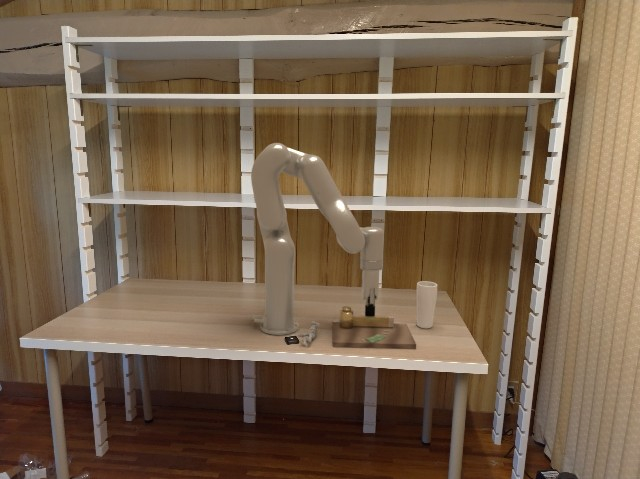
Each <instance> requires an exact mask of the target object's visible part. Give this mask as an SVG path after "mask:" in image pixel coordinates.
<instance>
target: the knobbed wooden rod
mask: <svg viewBox="0 0 640 479" xmlns="http://www.w3.org/2000/svg"><path fill="white" fill-rule="evenodd" d="M339 322H340V325H339V326H340V327H342V328H352V327H353V326H384V327H394V323H395V317H394V316H393V315H392V316H391V315H389V316H384V315H383V316H381V315H379V316H378V315H375V316H365V315H354V310H352V307H351V306H347V305H345V306H342V309H340V310H339Z"/></svg>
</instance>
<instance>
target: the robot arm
mask: <svg viewBox="0 0 640 479" xmlns="http://www.w3.org/2000/svg"><path fill="white" fill-rule="evenodd" d="M281 173H283V174H285V175H289V176H292V177H294V178H299V179H302V181H303V183H304V185H305V187H306V189H307V191H308V192H309V194H310V196H311V197H312V199H313V202H314V203H315V205H316V207H317V208H318V209H317V210H319V212H320V213H321V214H322V215H323V217H325V219H326V220H327V222H328V223H329V224H330V226H331V227H332V228H331V229H333V231H334V233H335V235H336V237H335V238H336V241H337V243H338V245H339V246H340V247H341V248H342V249H343V250H344V251H345V252H346V253H348V254H351V255H354V254H359V253H360V258H359V262H360V263H359V269H360V270H362V273H361V274H362V275H361V277H362V278H361V297H362V299H363V300H364V301H365V305H364V306H365V307H364V316H376V300H378V299H379V288H380V283H379V282H380V271H382V270H383V267H384V245H385V244H384V242H385V238H384V237H385V231H384V229H383V228H381V227H378V226H366V227H360V225H359V223H358V221H357V220H356V218H355V216H354V215H353V213H352V211H351V210H350V208H349V207H348V204H347V202H346V201H345V199H344V197H343V196H342V194H341V192H340V191H339V188H338V187H337V185H336V183H335V181H334V179H333V177H332V175H331V173H330V171H329V170H328V167H327V166H326V164H325V162H324V160H322V158H321V157H320V156H319V155H315V154H309V153H306V152H303V151H299V150H296V149H294V148H290V147H288V146H286V145H285V144H283V143H281V142H273V143H271V144H268V145H267V146H266V147H265V148H264V149H263V150H262V151H261V152H260V153H259V154H258V155H257V157H256V158H255V160H254V161H253V164H252V168H251V174H250V180H251V188H252V192H253V198H254V203H255V207H256V218H257V222H258V225H259V230H260V234H261V238H262V242H263V247H264V313H263V314H261V315H259V314H252V315H251V321H252V322H254V323H255V324H260V325H259V328H260V331H262V333H265V334H269V335H275V336H283V335H291V334H293V333H296V332H297V331H298V330H299V323H298V322H297V321H295V265H296V246H295V243H294V241H293V239H292V237H291V232H290V228H289V223H288V218H287V217H288V216H287V215H288V214H287V210H286V209H287V208H286V207H285V204H284V203H285V202H284V199H283V195H282V190H281V185H280V184H281V183H280V175H281Z"/></svg>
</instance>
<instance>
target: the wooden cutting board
mask: <svg viewBox="0 0 640 479" xmlns="http://www.w3.org/2000/svg"><path fill="white" fill-rule="evenodd" d="M331 322H332V324H331V325H332V326H331V330H332V334H331V336H332V348H357V349H358V348H359V349H361V348H362V349H396V350H398V349H401V350H402V349H405V350H416V349H417V343H416V340H415V339H414V337H413V334H412V332H411V330H410V328H409V326H408V324H407V323H396V322H394V327H384V326H353V327H352V328H342V327H340V326H339V325H340V321H331Z"/></svg>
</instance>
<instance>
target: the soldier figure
mask: <svg viewBox="0 0 640 479" xmlns="http://www.w3.org/2000/svg"><path fill="white" fill-rule="evenodd" d="M310 322H311V324H312V325H311V326H310V327H309V329H308V331H307V333H299V334H297V336H298V337H299V338H301V337H303V338H302V341H300V342H299V344H300V345H302V346H303V347H306V346H307V342H309V343H312V341H313V340H314V339H315V338H316V333H317V331H318V329H319V328H320V327H319V326H320V325H321V324H320V323H319V322H316V321H315V320H311V321H310Z"/></svg>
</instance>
